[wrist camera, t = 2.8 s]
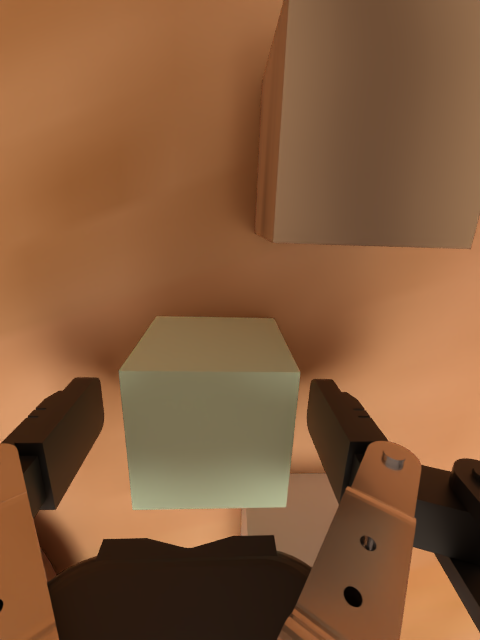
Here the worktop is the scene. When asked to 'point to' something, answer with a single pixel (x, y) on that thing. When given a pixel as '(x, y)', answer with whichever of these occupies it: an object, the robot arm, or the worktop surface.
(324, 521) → the grey block
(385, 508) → the robot arm
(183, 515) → the worktop surface
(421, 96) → the walnut block
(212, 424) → the green block
